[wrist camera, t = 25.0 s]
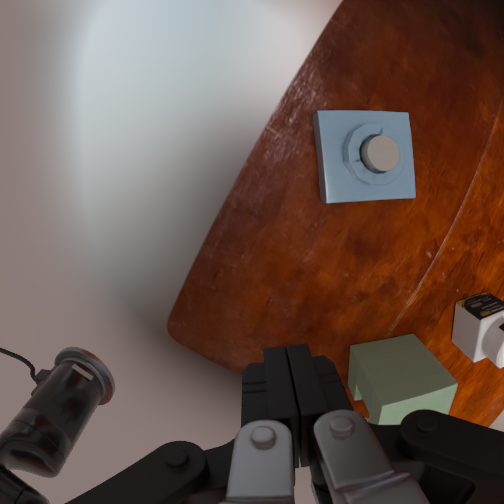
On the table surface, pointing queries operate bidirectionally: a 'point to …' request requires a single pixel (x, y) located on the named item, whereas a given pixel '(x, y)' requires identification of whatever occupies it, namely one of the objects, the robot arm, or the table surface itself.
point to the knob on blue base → (349, 156)
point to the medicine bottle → (480, 328)
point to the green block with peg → (398, 379)
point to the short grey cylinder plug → (380, 153)
